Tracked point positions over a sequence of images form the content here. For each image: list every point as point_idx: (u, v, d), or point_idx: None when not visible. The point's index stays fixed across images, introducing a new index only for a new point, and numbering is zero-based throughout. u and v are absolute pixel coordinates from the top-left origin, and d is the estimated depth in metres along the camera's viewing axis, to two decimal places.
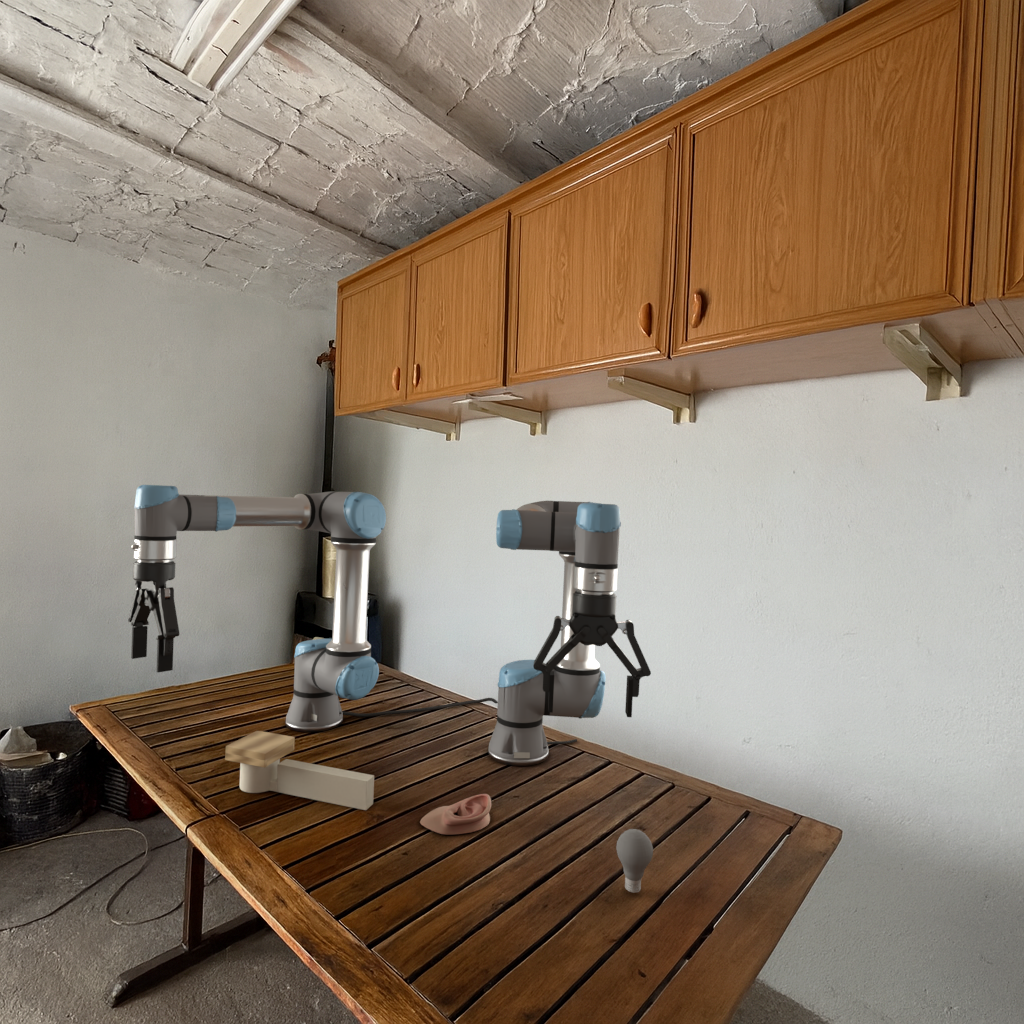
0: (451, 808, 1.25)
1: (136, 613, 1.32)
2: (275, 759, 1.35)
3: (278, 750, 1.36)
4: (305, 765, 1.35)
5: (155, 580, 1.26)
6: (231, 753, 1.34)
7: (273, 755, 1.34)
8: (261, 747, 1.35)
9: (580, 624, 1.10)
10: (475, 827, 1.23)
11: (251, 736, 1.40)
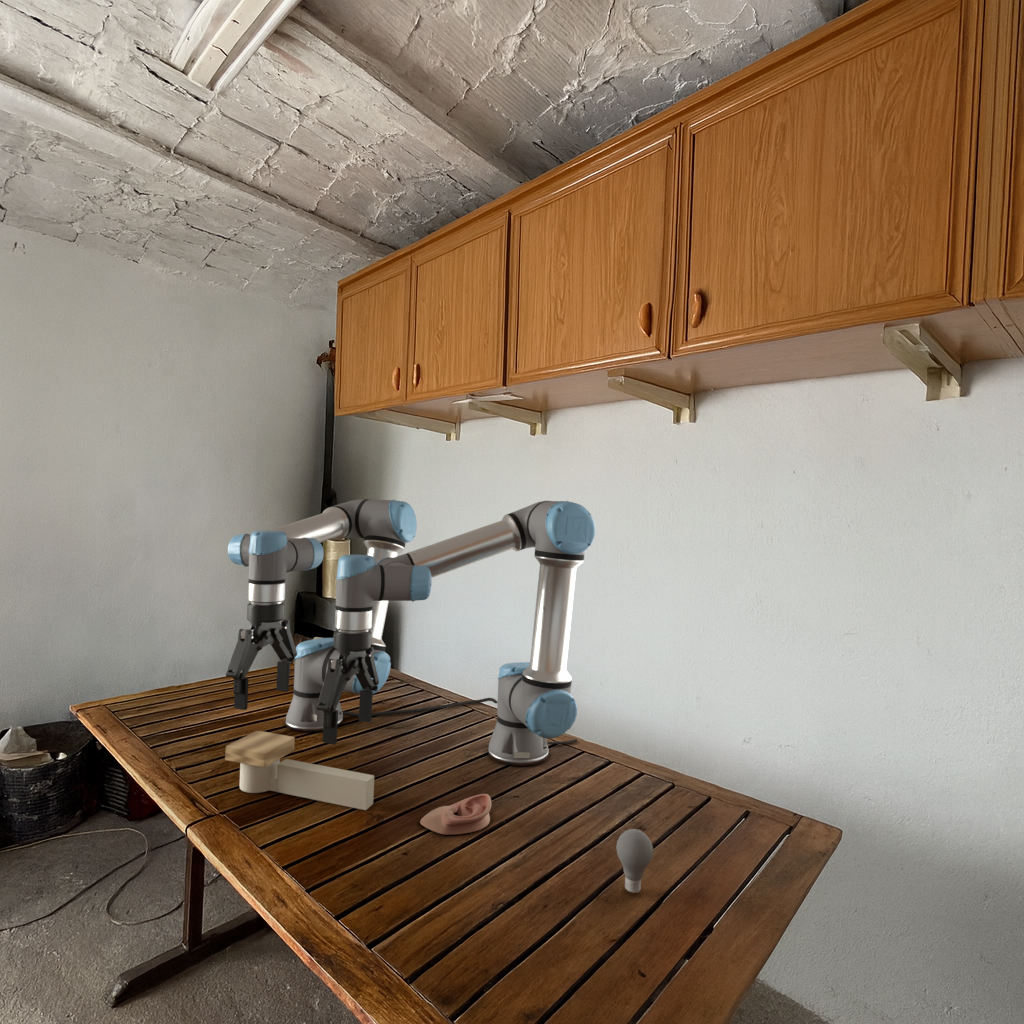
0: (451, 808, 1.25)
1: None
2: (275, 759, 1.35)
3: (278, 750, 1.36)
4: (305, 765, 1.35)
5: (250, 620, 1.34)
6: (231, 753, 1.34)
7: (273, 755, 1.34)
8: (261, 747, 1.35)
9: None
10: (475, 827, 1.23)
11: (251, 736, 1.40)
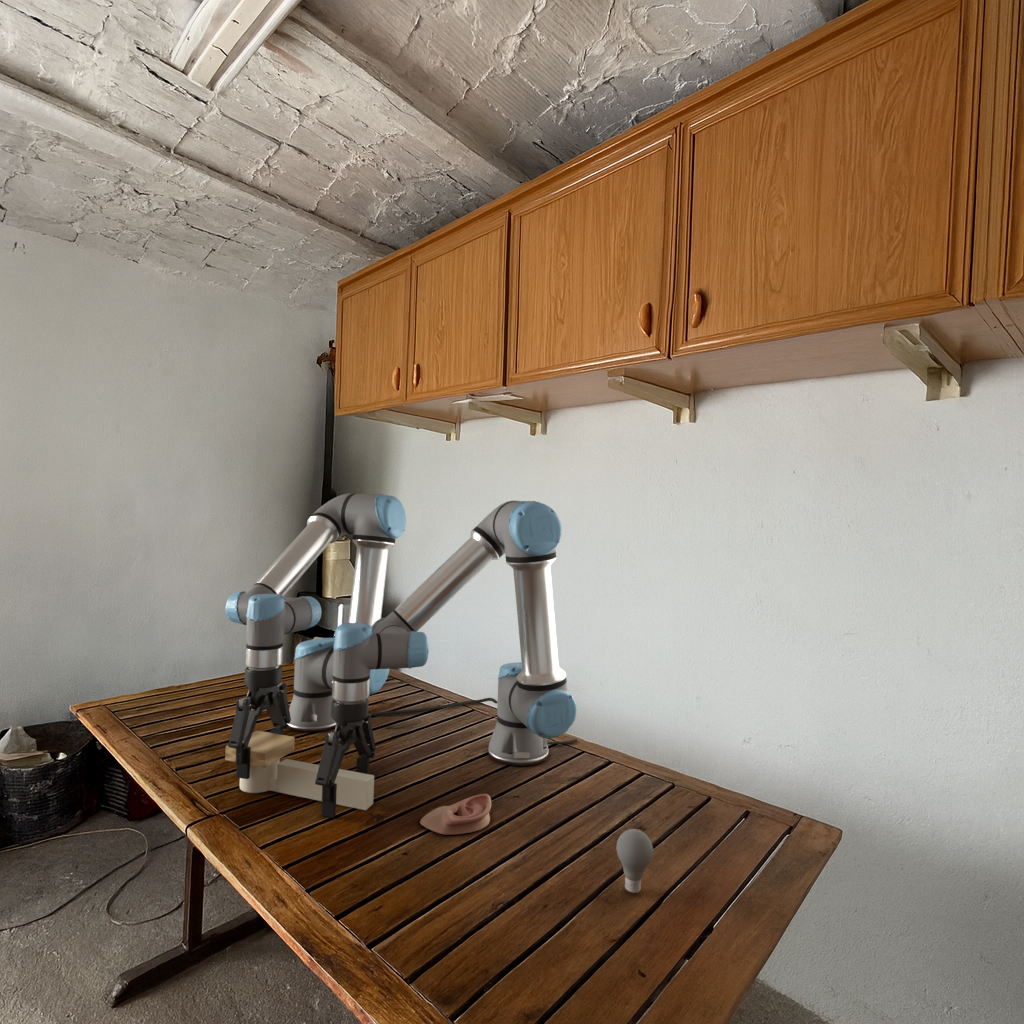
0: (451, 808, 1.25)
1: None
2: (275, 759, 1.35)
3: (278, 750, 1.36)
4: (305, 765, 1.35)
5: (247, 686, 1.35)
6: (231, 753, 1.34)
7: (273, 755, 1.34)
8: (261, 747, 1.35)
9: None
10: (475, 827, 1.23)
11: (251, 736, 1.40)
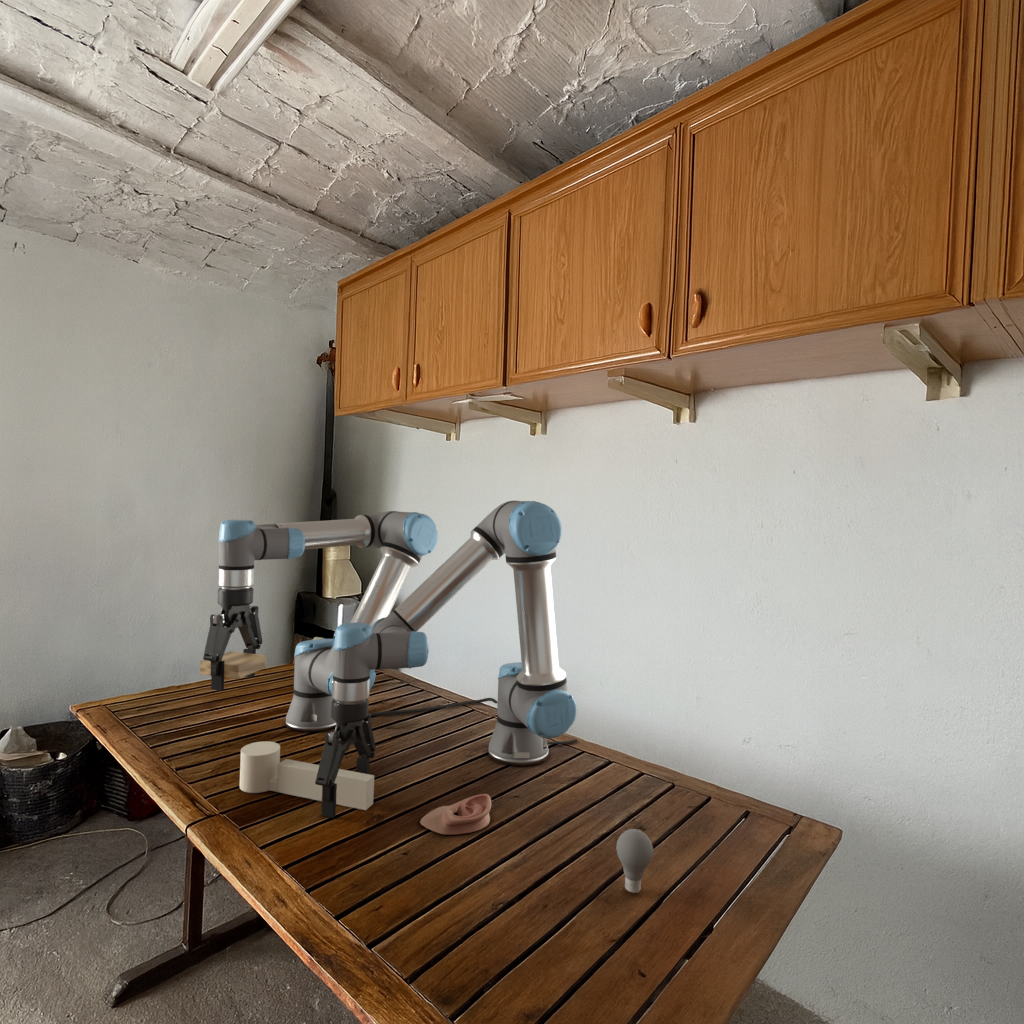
0: (451, 808, 1.25)
1: None
2: (248, 673, 1.43)
3: (251, 665, 1.44)
4: (305, 765, 1.35)
5: (221, 604, 1.42)
6: (206, 667, 1.42)
7: (246, 669, 1.43)
8: (234, 662, 1.43)
9: None
10: (475, 827, 1.23)
11: (225, 655, 1.48)
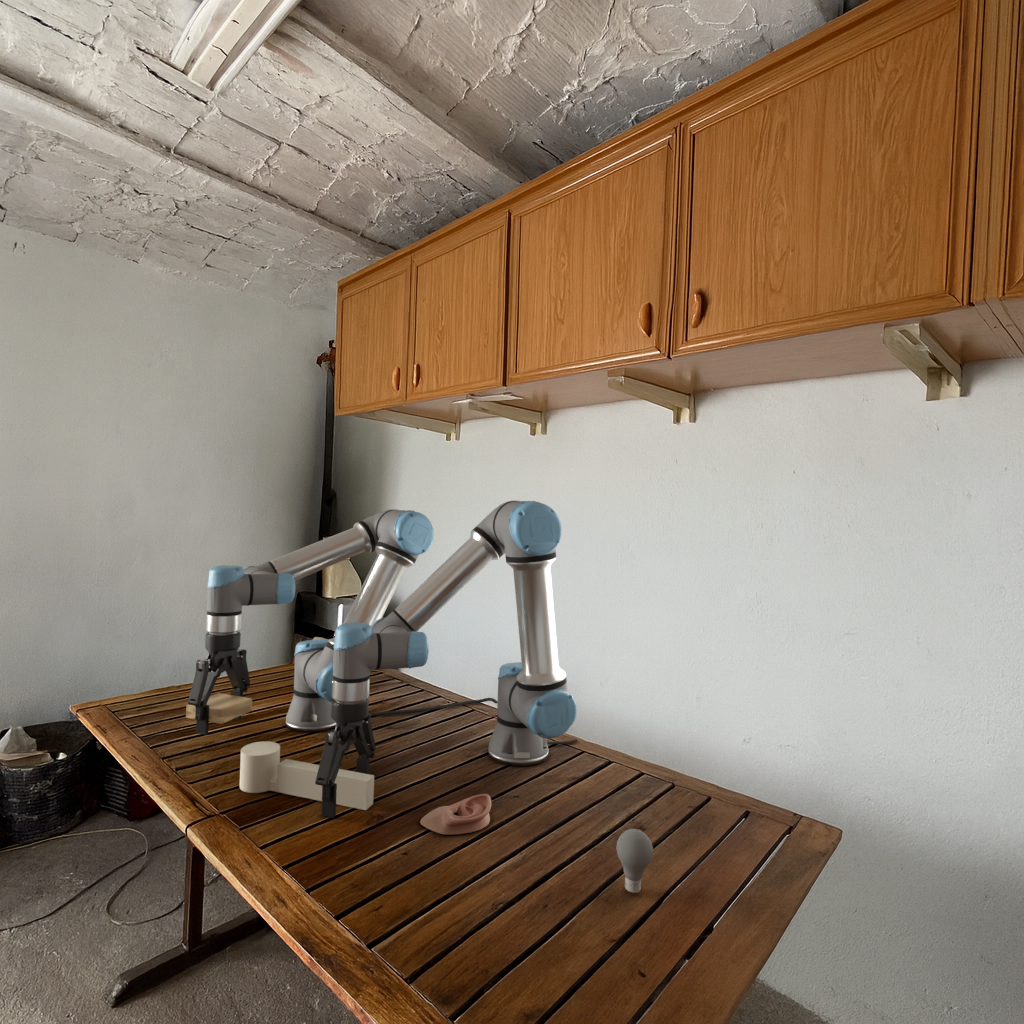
0: (451, 808, 1.25)
1: None
2: (232, 717, 1.46)
3: (235, 709, 1.47)
4: (305, 765, 1.35)
5: (207, 649, 1.46)
6: (191, 711, 1.45)
7: (230, 713, 1.45)
8: (219, 706, 1.46)
9: None
10: (475, 827, 1.23)
11: (212, 697, 1.51)
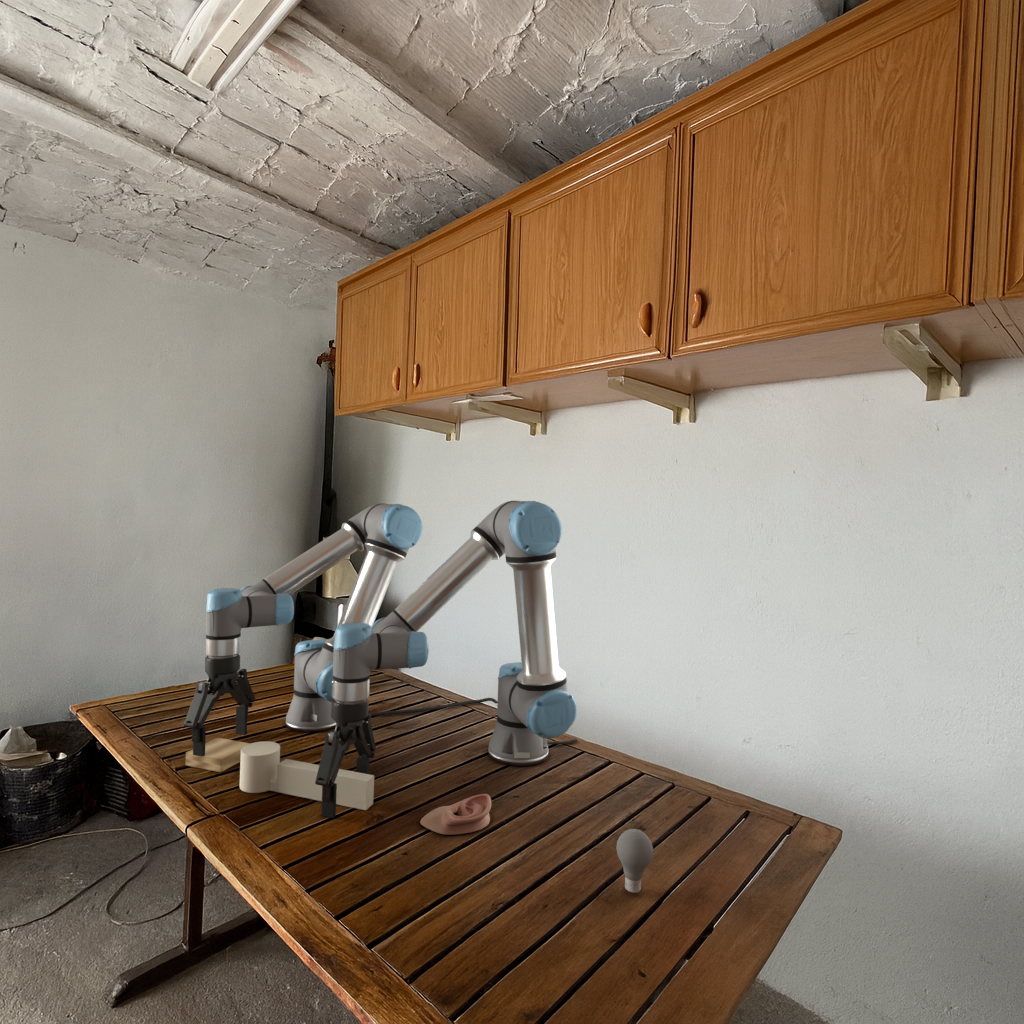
0: (451, 808, 1.25)
1: None
2: (231, 764, 1.46)
3: (234, 756, 1.47)
4: (305, 765, 1.35)
5: (207, 673, 1.46)
6: (191, 759, 1.46)
7: (229, 761, 1.46)
8: (218, 753, 1.46)
9: None
10: (475, 827, 1.23)
11: (211, 743, 1.52)
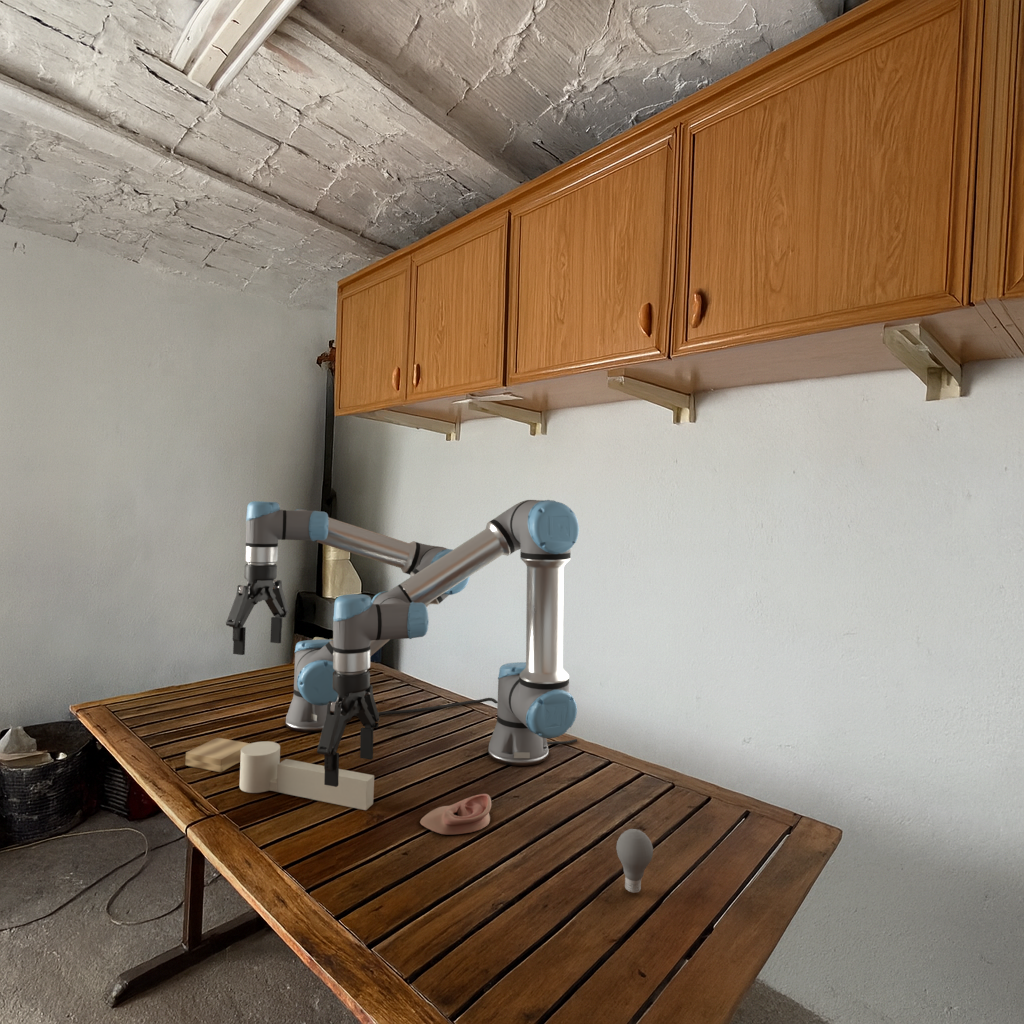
0: (451, 808, 1.25)
1: None
2: (231, 764, 1.46)
3: (234, 756, 1.47)
4: (305, 765, 1.35)
5: (247, 578, 1.54)
6: (191, 759, 1.46)
7: (229, 761, 1.46)
8: (218, 753, 1.46)
9: None
10: (475, 827, 1.23)
11: (211, 743, 1.52)
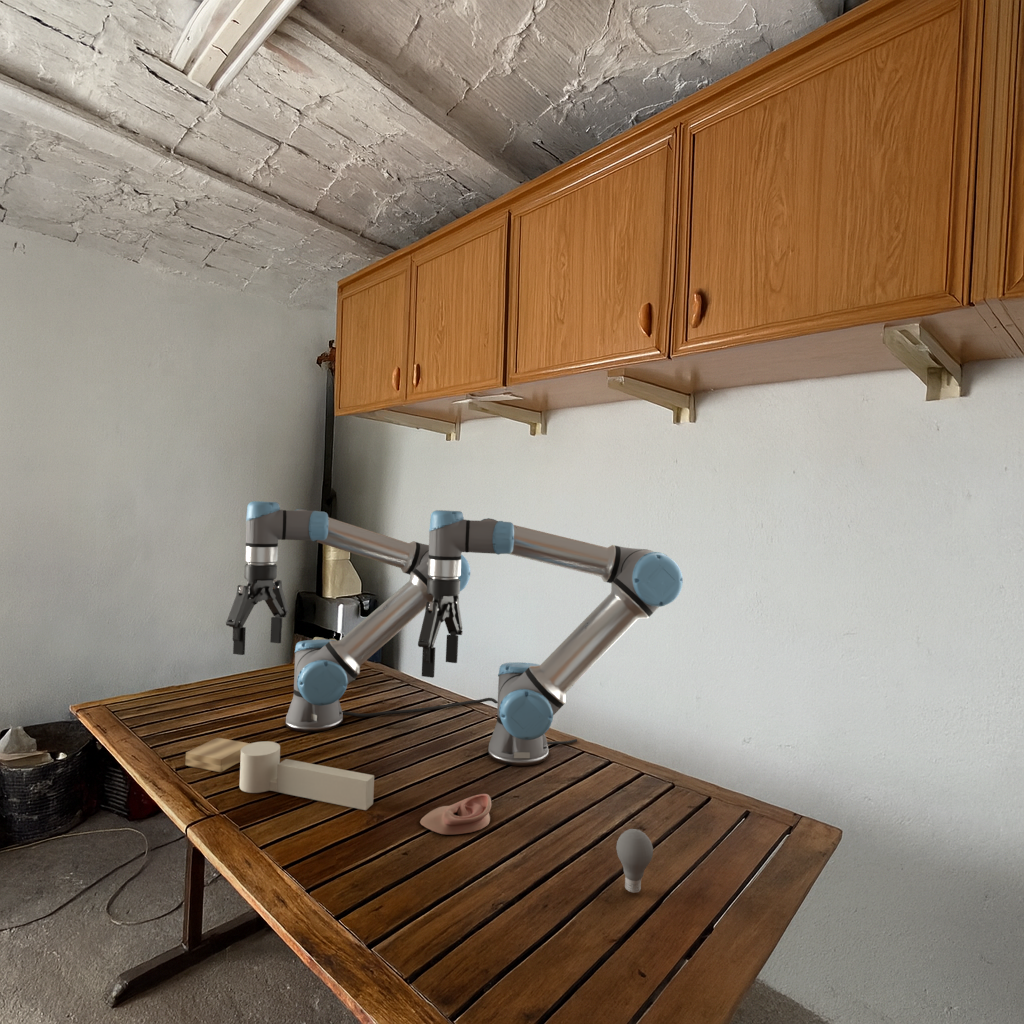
0: (451, 808, 1.25)
1: None
2: (231, 764, 1.46)
3: (234, 756, 1.47)
4: (305, 765, 1.35)
5: (247, 578, 1.54)
6: (191, 759, 1.46)
7: (229, 761, 1.46)
8: (218, 753, 1.46)
9: None
10: (475, 827, 1.23)
11: (211, 743, 1.52)
